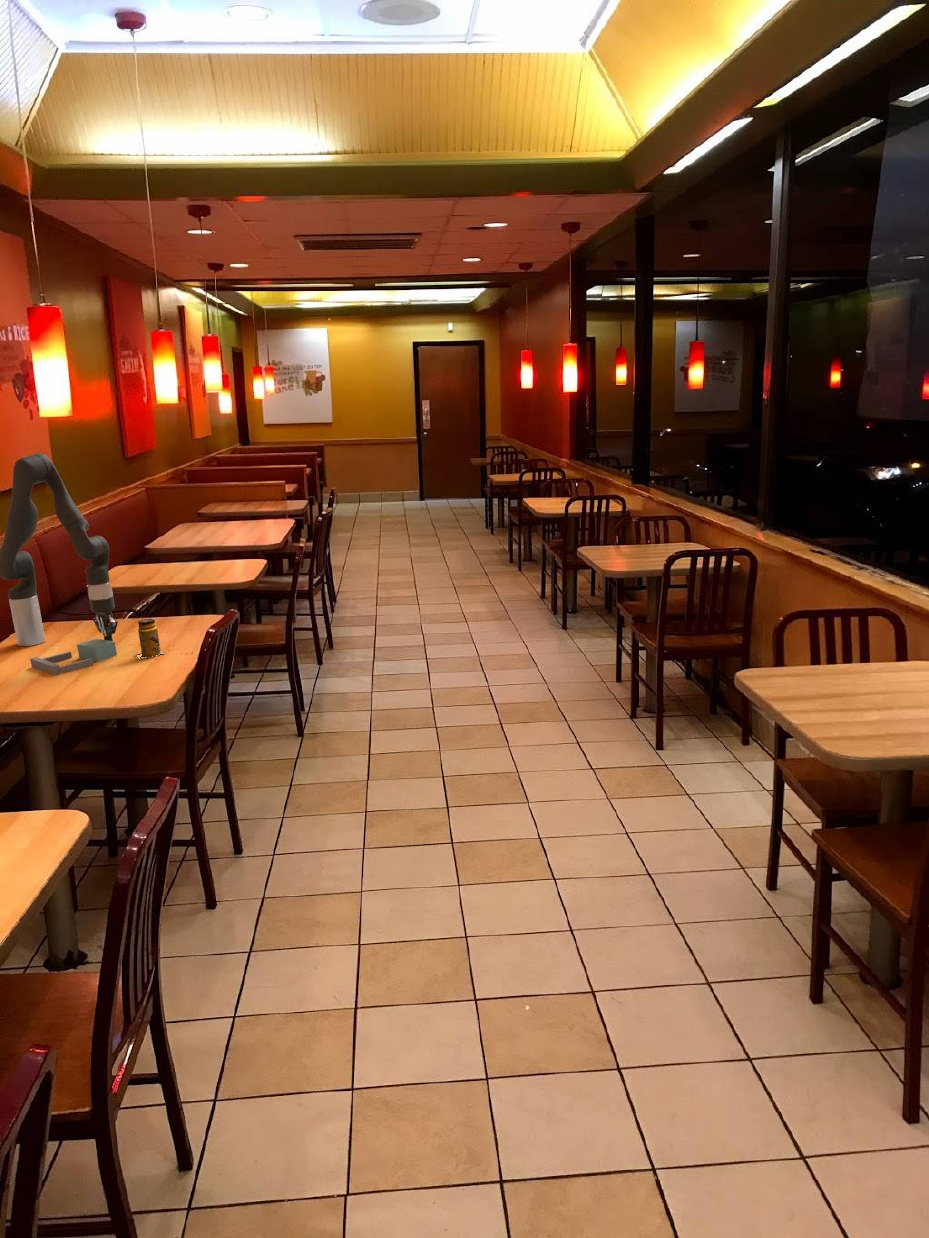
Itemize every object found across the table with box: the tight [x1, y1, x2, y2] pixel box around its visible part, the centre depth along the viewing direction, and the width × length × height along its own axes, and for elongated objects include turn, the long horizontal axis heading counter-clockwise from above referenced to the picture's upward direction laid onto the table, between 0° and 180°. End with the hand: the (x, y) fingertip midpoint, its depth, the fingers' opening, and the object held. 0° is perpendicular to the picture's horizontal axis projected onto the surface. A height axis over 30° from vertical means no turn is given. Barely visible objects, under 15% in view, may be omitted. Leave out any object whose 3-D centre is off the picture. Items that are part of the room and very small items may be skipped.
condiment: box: [133, 618, 164, 661], centre depth 308 cm, size 7×8×12 cm
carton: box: [76, 638, 118, 663], centre depth 310 cm, size 10×8×5 cm
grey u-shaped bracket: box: [29, 651, 94, 676], centre depth 302 cm, size 16×13×3 cm
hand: (109, 645), depth 314 cm, fingers closed
